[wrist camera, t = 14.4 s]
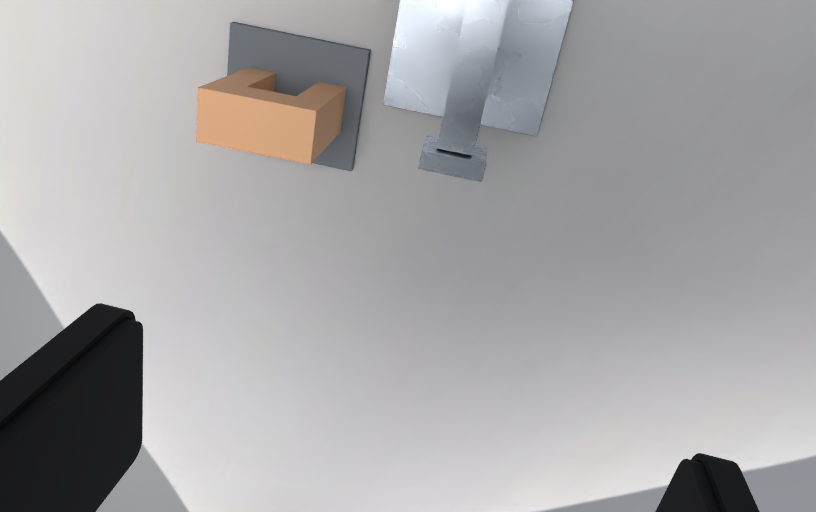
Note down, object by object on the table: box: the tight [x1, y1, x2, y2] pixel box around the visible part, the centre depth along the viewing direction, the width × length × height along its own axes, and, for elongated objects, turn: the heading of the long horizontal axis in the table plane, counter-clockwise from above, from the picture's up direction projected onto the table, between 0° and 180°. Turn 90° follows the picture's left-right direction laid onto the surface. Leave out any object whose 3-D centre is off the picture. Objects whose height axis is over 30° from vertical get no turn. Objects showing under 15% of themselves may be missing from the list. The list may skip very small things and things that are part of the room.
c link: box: [196, 68, 346, 165], centre depth 38 cm, size 6×3×8 cm, turn 80°
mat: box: [227, 22, 370, 171], centre depth 42 cm, size 9×8×1 cm
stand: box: [383, 0, 573, 182], centre depth 32 cm, size 10×12×15 cm
